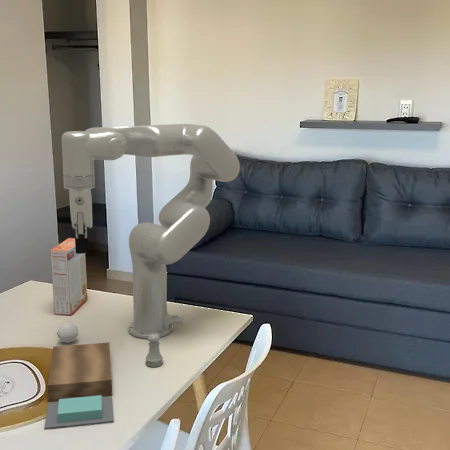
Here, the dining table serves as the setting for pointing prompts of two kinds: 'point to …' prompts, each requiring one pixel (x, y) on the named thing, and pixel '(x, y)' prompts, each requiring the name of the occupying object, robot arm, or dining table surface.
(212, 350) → the dining table surface
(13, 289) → the dining table surface
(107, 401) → the mat
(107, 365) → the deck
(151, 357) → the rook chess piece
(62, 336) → the white sphere
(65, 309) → the cracker box
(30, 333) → the dining table surface
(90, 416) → the teal rectangular block
